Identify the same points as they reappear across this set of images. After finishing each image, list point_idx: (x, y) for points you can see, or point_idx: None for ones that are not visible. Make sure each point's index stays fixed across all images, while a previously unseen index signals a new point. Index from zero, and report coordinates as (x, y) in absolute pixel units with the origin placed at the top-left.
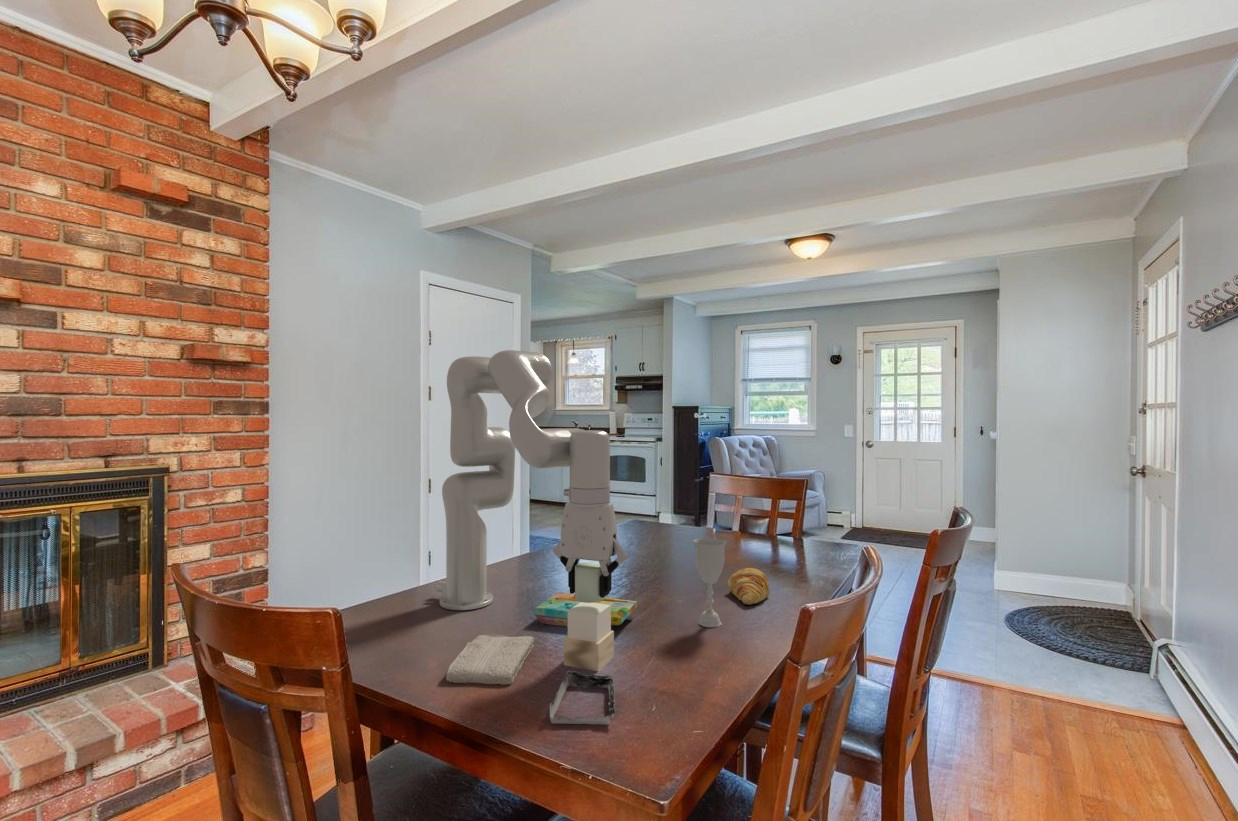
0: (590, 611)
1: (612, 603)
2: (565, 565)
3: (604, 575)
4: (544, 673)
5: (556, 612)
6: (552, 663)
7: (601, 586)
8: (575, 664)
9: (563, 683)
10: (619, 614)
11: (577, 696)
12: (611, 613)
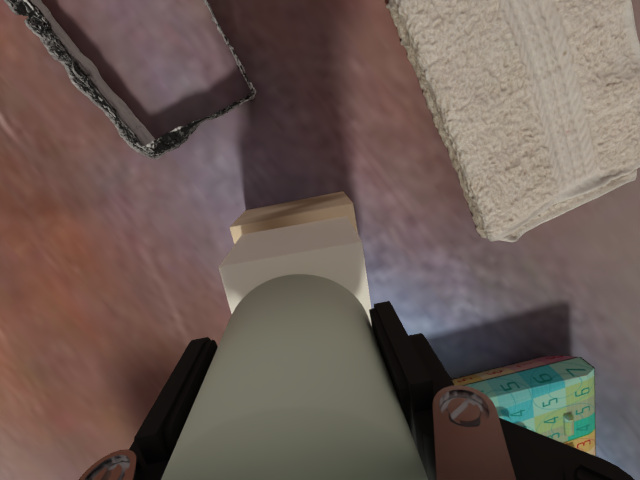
0: None
1: None
2: (519, 435)
3: (125, 452)
4: (354, 120)
5: (521, 383)
6: (374, 182)
7: (178, 377)
8: (309, 199)
9: (223, 37)
10: None
11: (193, 59)
12: None
